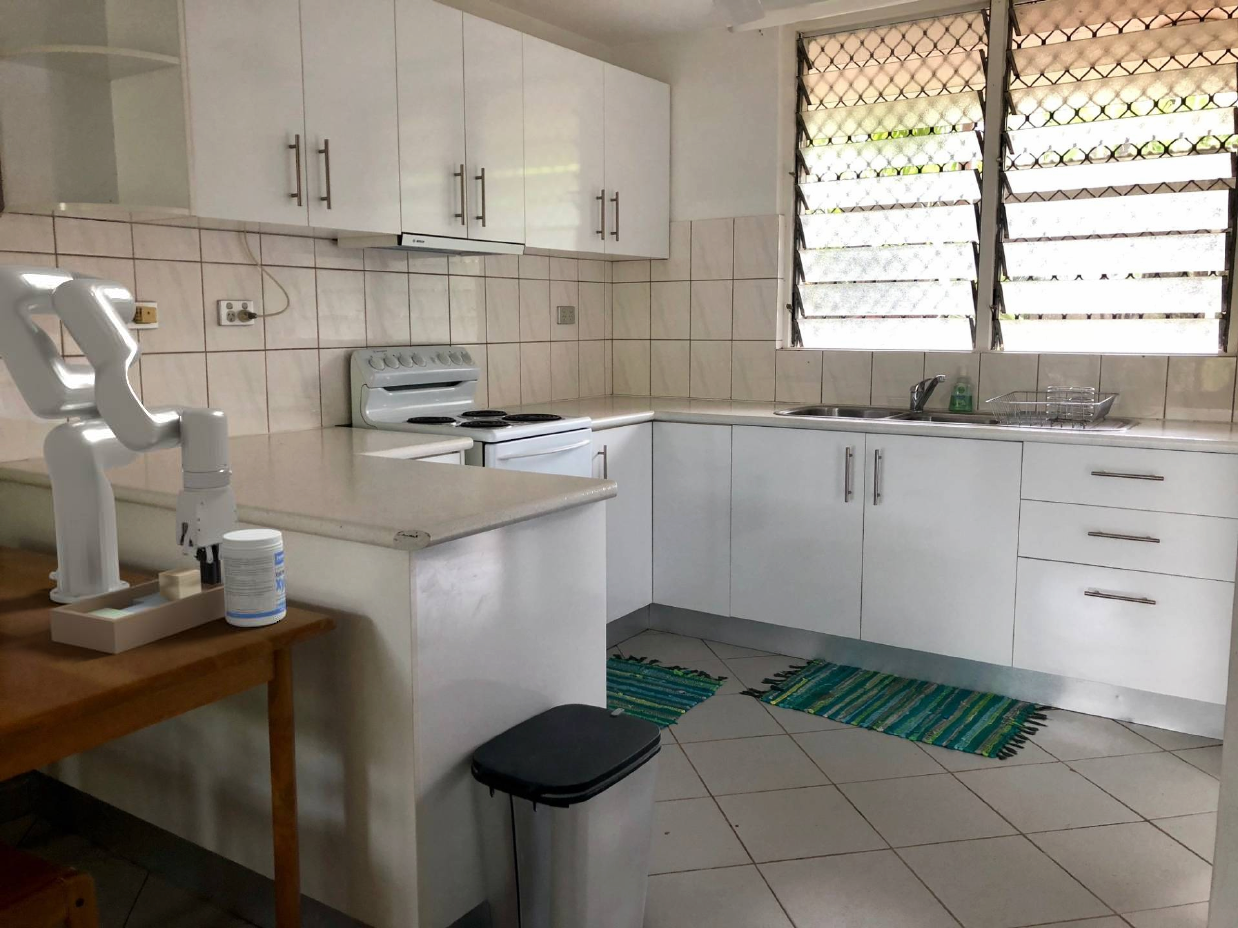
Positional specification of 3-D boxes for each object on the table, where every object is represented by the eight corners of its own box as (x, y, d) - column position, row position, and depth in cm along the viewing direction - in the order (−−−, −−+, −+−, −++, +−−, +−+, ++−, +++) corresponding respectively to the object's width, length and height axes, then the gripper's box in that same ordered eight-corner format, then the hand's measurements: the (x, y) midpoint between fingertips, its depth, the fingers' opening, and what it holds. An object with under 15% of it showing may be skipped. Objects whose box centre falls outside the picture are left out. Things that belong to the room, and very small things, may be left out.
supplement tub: (292, 623, 161) (289, 536, 159) (232, 632, 155) (228, 542, 153) (277, 608, 169) (274, 525, 166) (219, 616, 163) (215, 531, 161)
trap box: (51, 640, 150) (49, 609, 149) (177, 601, 172) (176, 573, 171) (116, 654, 144) (114, 621, 144) (237, 611, 166) (236, 583, 166)
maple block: (160, 599, 162) (158, 573, 162) (181, 592, 166) (180, 567, 166) (180, 602, 161) (178, 576, 160) (201, 595, 165) (200, 570, 164)
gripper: (223, 472, 175) (227, 570, 178) (154, 484, 161) (160, 590, 164) (255, 475, 172) (258, 575, 175) (187, 488, 158) (193, 596, 161)
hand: (211, 582), depth 169 cm, fingers closed
